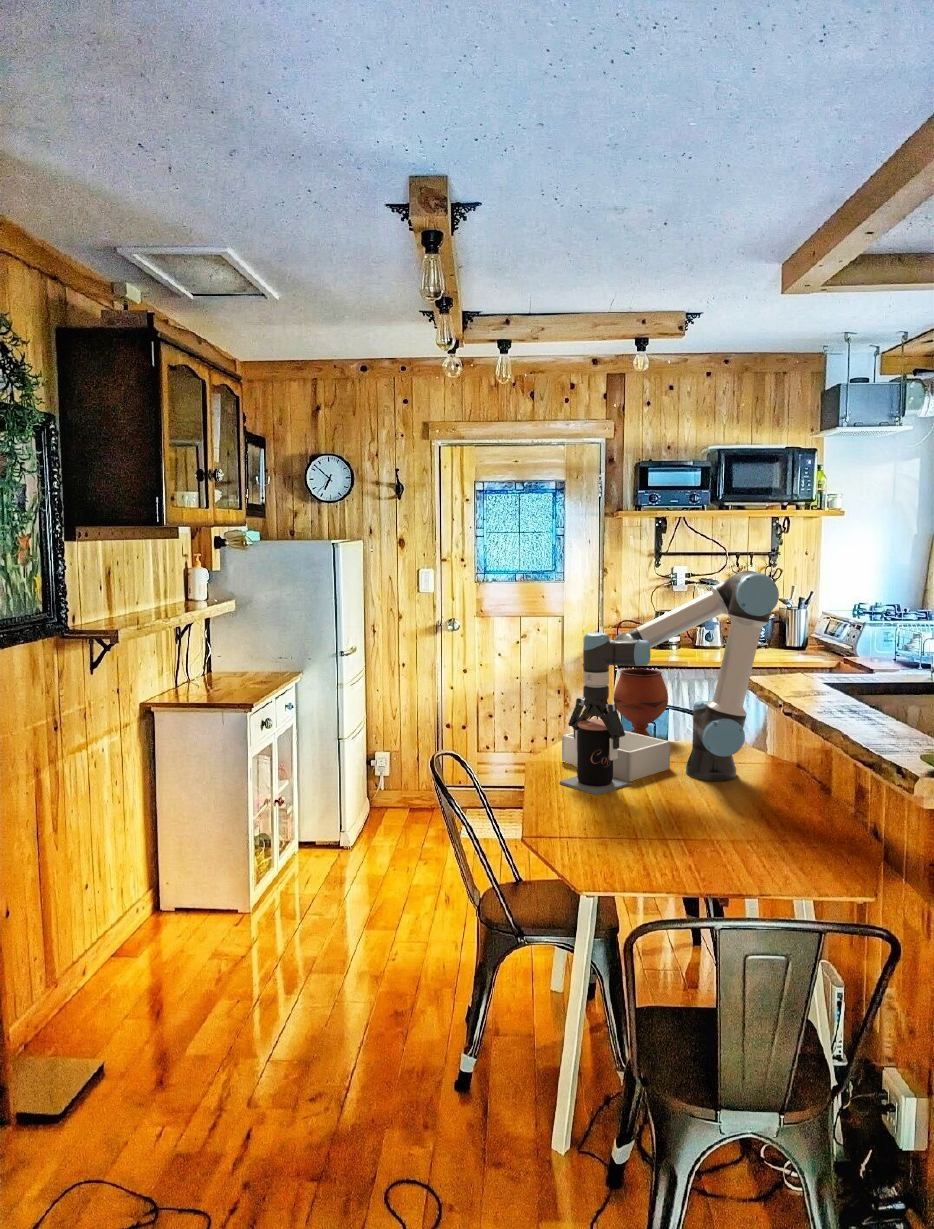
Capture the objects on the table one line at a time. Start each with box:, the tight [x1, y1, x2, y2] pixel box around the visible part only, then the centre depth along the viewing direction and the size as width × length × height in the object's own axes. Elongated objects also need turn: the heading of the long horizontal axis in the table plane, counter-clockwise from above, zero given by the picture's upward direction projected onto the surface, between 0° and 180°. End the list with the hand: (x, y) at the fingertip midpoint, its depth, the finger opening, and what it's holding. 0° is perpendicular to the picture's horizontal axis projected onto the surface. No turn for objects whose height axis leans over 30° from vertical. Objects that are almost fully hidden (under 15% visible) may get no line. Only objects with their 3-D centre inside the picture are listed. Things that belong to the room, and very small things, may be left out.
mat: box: [559, 775, 632, 796], centre depth 264 cm, size 15×15×1 cm
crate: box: [561, 730, 671, 782], centre depth 284 cm, size 28×20×9 cm
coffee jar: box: [576, 718, 614, 786], centre depth 263 cm, size 11×11×18 cm
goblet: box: [613, 668, 669, 737], centre depth 316 cm, size 19×19×25 cm
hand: (595, 754), depth 263 cm, fingers open, 13 cm apart
